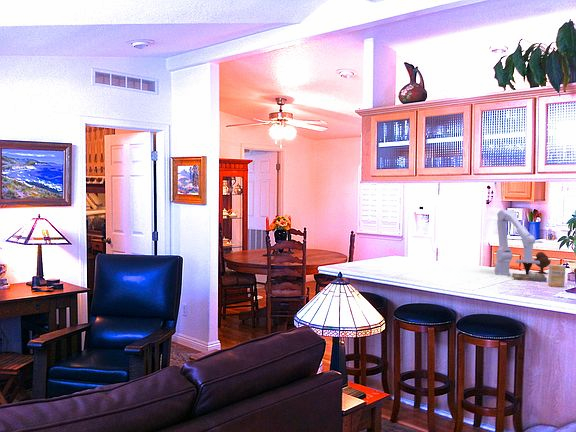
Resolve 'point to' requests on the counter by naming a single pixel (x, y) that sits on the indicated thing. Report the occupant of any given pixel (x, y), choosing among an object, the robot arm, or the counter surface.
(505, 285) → the counter surface
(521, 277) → the walnut board
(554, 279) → the supplement box
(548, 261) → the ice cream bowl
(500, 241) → the robot arm
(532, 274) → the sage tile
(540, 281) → the tray
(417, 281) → the counter surface
